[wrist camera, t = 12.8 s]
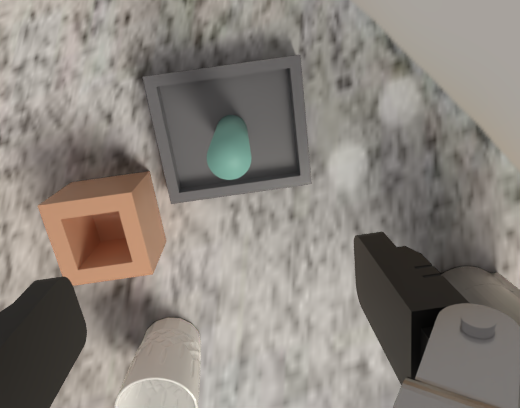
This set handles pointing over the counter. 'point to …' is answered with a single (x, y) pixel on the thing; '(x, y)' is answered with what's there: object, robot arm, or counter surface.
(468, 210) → the counter surface
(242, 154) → the dowel
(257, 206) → the counter surface
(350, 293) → the counter surface
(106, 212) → the pot
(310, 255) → the counter surface
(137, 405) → the white cup
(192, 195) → the tray
